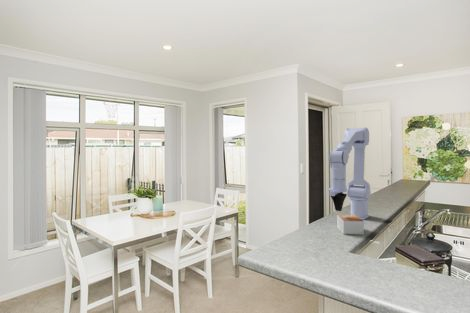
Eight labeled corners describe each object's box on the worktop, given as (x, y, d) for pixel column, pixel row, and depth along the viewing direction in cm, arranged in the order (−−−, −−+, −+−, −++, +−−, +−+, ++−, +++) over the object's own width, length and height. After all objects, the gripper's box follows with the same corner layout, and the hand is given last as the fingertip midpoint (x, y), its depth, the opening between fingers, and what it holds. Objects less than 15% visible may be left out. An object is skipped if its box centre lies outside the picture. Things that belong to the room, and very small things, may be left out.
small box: (355, 214, 125) (364, 220, 114) (355, 227, 125) (364, 234, 114) (336, 214, 125) (343, 220, 115) (336, 227, 126) (343, 234, 115)
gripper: (335, 176, 130) (335, 206, 131) (322, 179, 119) (322, 212, 120) (351, 177, 125) (351, 208, 126) (339, 181, 114) (339, 214, 115)
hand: (338, 210), depth 122 cm, fingers closed
